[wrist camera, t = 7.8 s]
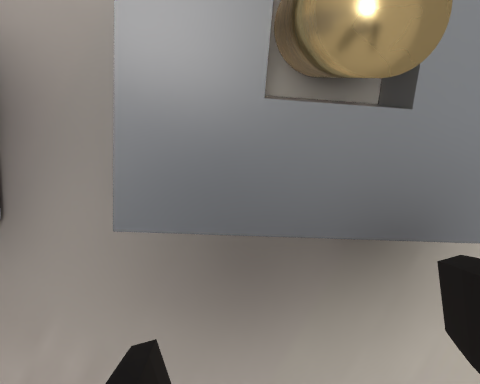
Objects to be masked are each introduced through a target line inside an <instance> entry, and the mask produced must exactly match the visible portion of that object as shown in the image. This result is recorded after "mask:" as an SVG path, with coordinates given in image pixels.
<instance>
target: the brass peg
mask: <svg viewBox="0 0 480 384" xmlns="http://www.w3.org/2000/svg"><path fill="white" fill-rule="evenodd" d="M452 2H453V0H281V2H280V4H279V7H278V9H277V12H276V16H275V23H274V32H275V39H276V43H277V46H278V49H279V51H280V53H281V55H282V56H283V58H284V59H285V61H286V62H287V63H288V64H289V65H290V66H291V67H292V68H293V69H295V70H296V71H298V72H300V73H302V74H304V75H307V76H311V77H336V78H387V77H393V76H397V75H400V74H402V73H405V72H407V71H409V70H411V69H413V68H414V67H416V66H417V65H419V64H420V63H421V62H423V61H424V60H425V59H426V58H427V57H428V56H429V55H430V54H431V53H432V51H433V50H434V49H435V48H436V46H437V45H438V43H439V42H440V40H441V38H442V36H443V35H444V33H445V30H446V28H447V25H448V22H449V19H450V15H451V10H452Z"/></svg>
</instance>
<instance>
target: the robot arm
mask: <svg viewBox="0 0 480 384" xmlns="http://www.w3.org/2000/svg"><path fill="white" fill-rule="evenodd" d="M0 218H1V210H0ZM437 262H438V270H439V279H440V287H441V296H442V305H443V313H444V322H445V331H446V332H447V334H448V335H449V336H450V338H451V339H452V340H453V342H454V343H455V344H456V346H457V347H458V349H459V350H460V351H461V352H462V354H463V355H464V356H465V358H466V359H467V360H468V361H469V363H470V364H471V365H472V366H473V367H474V368H475V369H476V370H477V371H478V373H479V374H480V259H479V258H474V257H469V256H464V255H459V256H455V257H452V258H448V259H444V260H441V261H437ZM106 384H171V381H170V378H169V376H168V373H167V370H166V367H165V364H164V361H163V358H162V355H161V352H160V349H159V346H158V343H157V340H156V339H155V340H152V341H148V342H145V343H141V344H137V345H134V346H131V348H130V349H129V350H128V352H127V353H126V355H125V356H124V357H123V359H122V360H121V362H120V363H119V365H118V366H117V368H116V369H115V371H114V372H113V374H112V375H111V377H110V378H109V379H108V381H107V382H106Z"/></svg>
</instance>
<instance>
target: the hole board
mask: <svg viewBox="0 0 480 384" xmlns="http://www.w3.org/2000/svg"><path fill="white" fill-rule="evenodd" d="M272 8H273V0H114V144H113V231H116V232H147V233H178V234H208V235H239V236H269V237H300V238H331V239H361V240H392V241H423V242H453V243H480V0H453V2H452V10H451V15H450V19H449V22H448V25H447V28H446V30H445V33H444V35H443V36H442V38H441V40H440V42H439V43H438V45H437V46H436V48H435V49H434V50H433V51H432V53H431V54H430V55H429V56H428V57H427V58H426V59H425V60H424V61H423V62H421V63H420V64H419V65H417V66H416V67H414V68H413V69H411V70H409V71H407V72H405V73H402V74H400V75H397V76H393V77H387V78H382V84H381V90H380V97H379V103H378V104H367V103H354V102H341V101H328V100H315V99H301V98H288V97H275V96H265V86H266V75H267V64H268V53H269V42H270V31H271V19H272Z"/></svg>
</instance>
